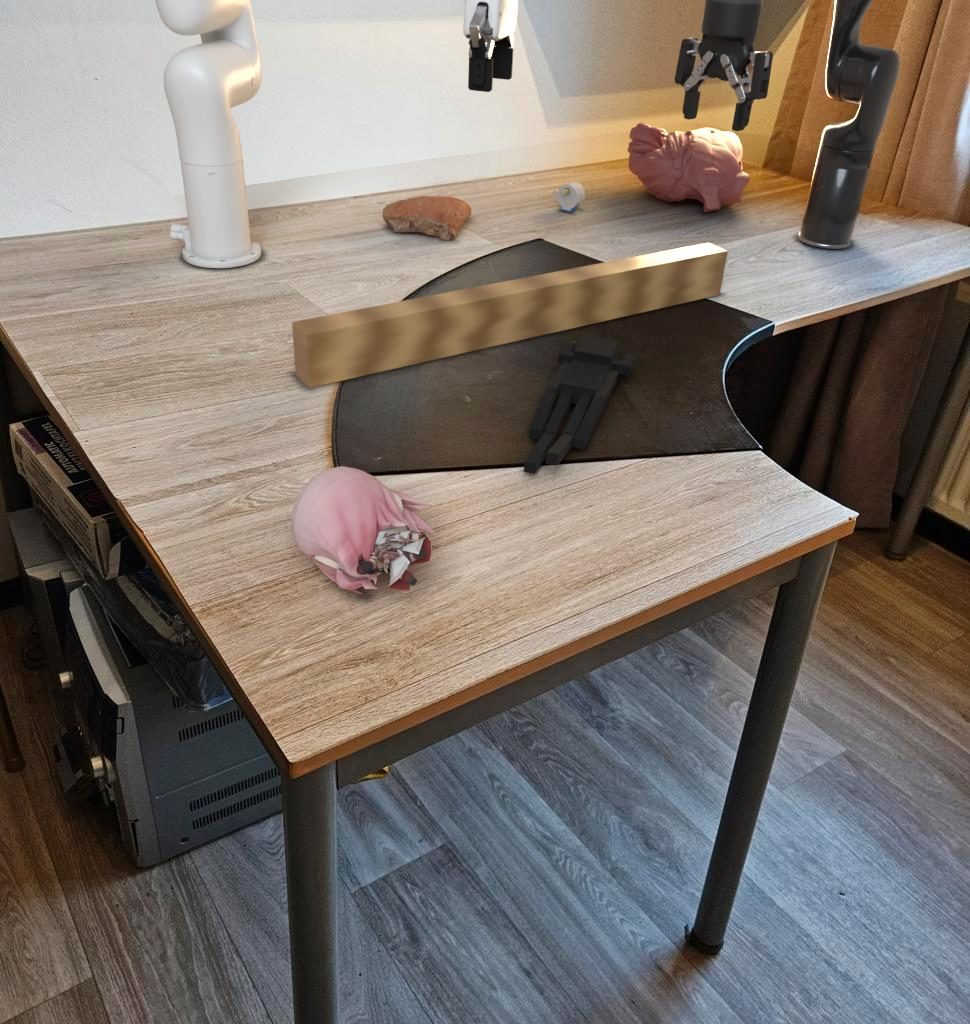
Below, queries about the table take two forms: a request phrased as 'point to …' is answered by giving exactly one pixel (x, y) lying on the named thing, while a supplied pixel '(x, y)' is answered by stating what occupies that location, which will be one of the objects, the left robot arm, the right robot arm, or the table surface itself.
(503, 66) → the left robot arm
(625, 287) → the bar
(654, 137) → the fabric sculpture
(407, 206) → the ceramic shard
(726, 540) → the table surface
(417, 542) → the pink rounded lump
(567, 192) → the electric motor
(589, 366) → the toy
